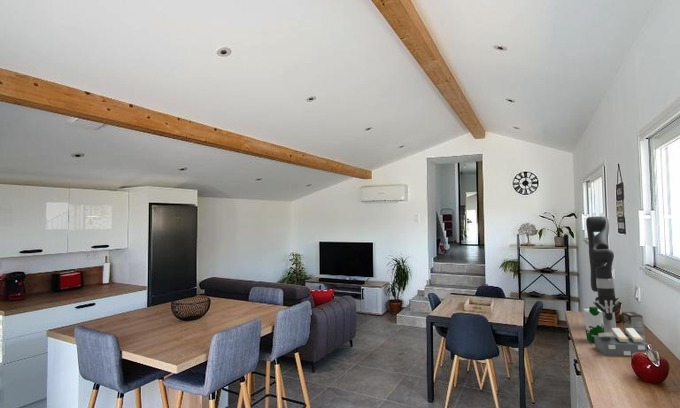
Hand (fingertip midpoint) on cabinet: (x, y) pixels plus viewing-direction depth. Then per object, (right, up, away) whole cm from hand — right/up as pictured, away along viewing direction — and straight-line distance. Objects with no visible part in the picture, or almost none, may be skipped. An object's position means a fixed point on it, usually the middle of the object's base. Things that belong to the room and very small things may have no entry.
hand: (609, 320), depth 195 cm
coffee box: (+24, -17, +13) cm, 32 cm away
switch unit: (+7, -17, +1) cm, 19 cm away
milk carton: (+6, -19, +19) cm, 27 cm away
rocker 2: (+7, -9, +2) cm, 11 cm away
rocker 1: (+1, -9, +3) cm, 10 cm away
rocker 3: (+13, -8, 0) cm, 15 cm away
